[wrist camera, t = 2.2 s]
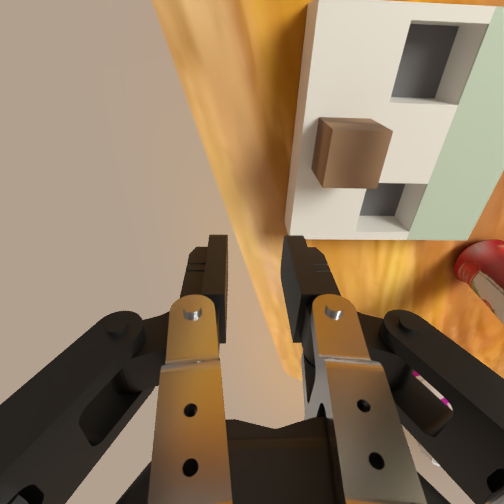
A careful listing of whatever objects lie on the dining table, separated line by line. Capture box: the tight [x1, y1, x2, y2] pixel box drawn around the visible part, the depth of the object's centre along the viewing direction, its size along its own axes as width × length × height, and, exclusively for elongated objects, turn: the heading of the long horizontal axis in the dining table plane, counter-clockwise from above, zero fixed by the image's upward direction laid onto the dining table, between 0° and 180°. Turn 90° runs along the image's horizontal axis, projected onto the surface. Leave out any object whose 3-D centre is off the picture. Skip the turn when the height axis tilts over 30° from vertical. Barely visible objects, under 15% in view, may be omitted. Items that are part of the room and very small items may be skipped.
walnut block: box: [311, 117, 393, 189], centre depth 25 cm, size 4×4×4 cm
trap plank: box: [284, 0, 504, 240], centre depth 29 cm, size 20×20×4 cm
